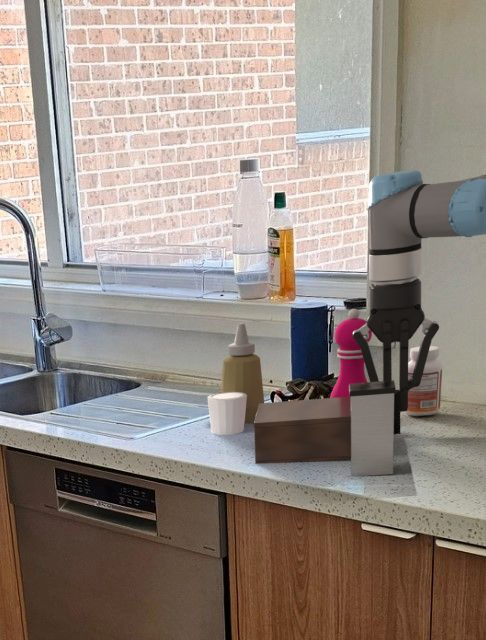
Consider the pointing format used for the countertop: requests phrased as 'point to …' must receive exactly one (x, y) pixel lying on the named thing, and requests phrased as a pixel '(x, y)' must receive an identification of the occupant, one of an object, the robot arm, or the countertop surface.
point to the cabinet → (303, 431)
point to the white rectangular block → (372, 428)
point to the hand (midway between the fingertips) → (395, 431)
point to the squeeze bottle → (243, 373)
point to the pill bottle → (425, 384)
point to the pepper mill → (349, 355)
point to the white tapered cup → (227, 412)
